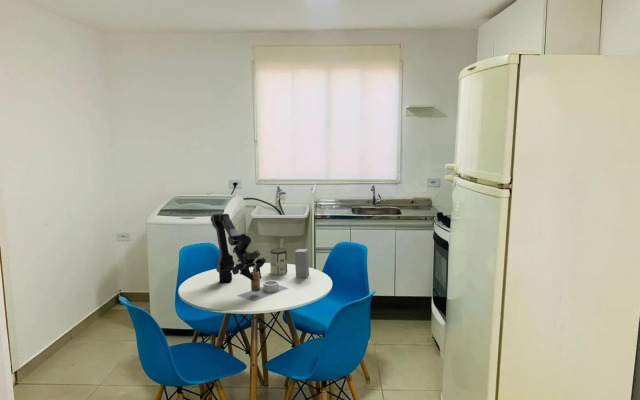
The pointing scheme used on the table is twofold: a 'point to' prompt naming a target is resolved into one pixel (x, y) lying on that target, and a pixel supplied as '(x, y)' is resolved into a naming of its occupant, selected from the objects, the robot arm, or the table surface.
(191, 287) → the table surface
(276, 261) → the coffee can
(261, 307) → the table surface
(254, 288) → the brown tall cylinder
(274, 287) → the tool board
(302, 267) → the skincare box
